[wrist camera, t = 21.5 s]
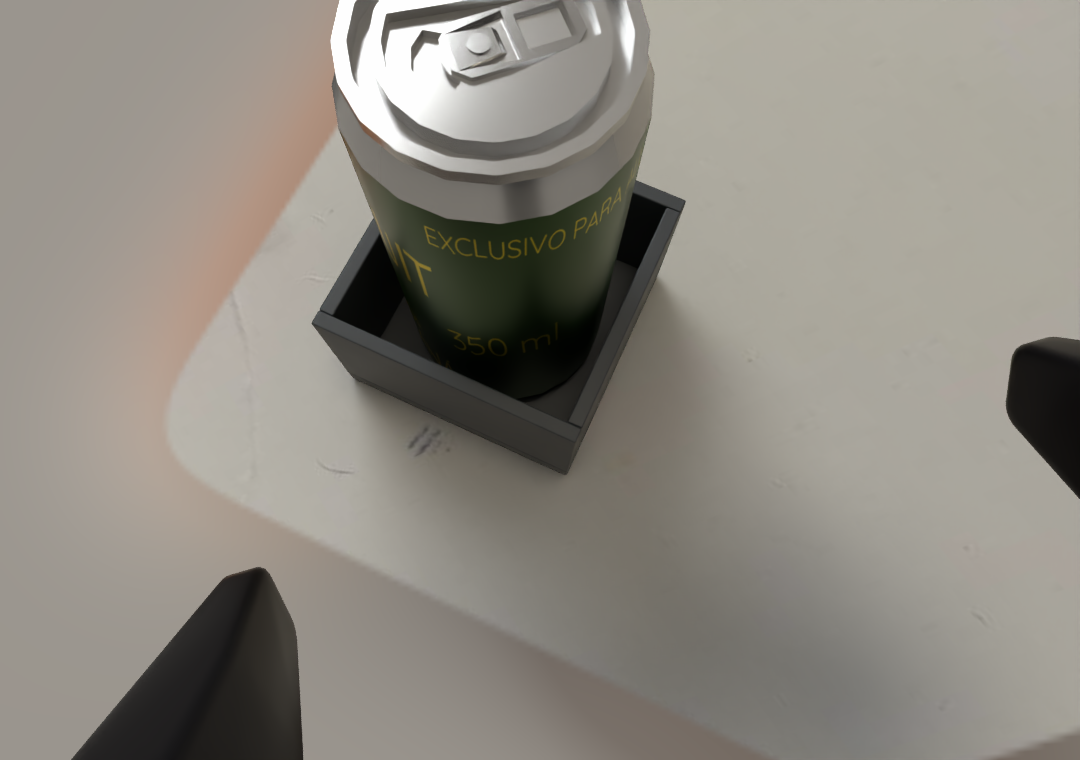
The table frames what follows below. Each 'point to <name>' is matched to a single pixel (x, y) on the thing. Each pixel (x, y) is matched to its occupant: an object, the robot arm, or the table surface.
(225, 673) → the robot arm
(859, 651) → the table surface
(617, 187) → the green metal cylinder
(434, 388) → the open square box
